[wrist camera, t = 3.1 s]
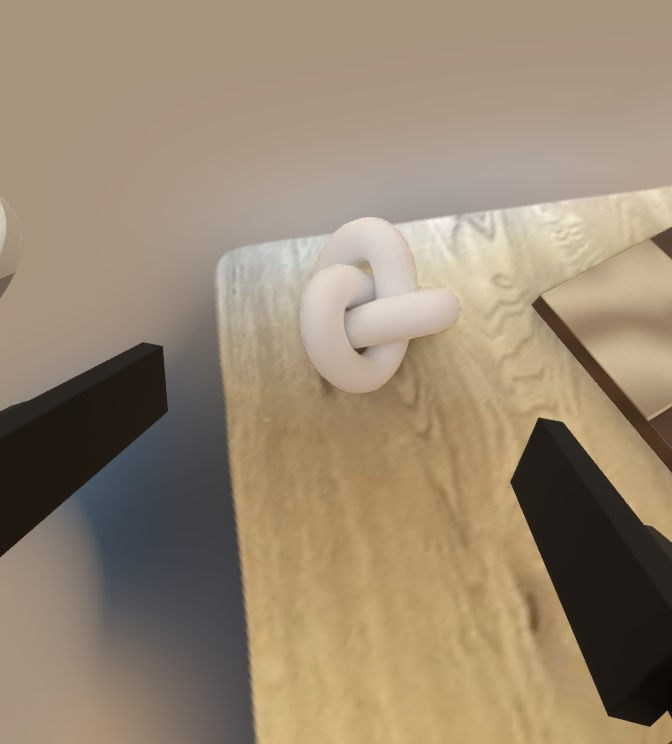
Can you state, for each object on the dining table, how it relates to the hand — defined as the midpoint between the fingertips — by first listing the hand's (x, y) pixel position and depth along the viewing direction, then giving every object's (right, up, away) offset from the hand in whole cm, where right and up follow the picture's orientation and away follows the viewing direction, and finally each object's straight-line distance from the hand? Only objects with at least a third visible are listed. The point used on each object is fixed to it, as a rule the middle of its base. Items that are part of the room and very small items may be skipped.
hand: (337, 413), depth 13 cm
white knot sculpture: (+2, +4, +18) cm, 19 cm away
